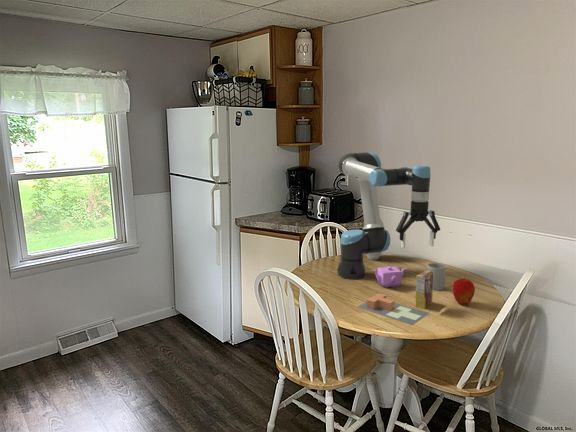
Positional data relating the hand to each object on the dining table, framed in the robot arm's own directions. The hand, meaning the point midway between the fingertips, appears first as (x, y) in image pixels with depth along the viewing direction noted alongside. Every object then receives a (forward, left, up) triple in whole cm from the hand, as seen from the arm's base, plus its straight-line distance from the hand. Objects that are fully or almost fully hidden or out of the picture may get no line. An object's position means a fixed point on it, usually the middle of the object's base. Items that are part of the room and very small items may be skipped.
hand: (417, 246), depth 203 cm
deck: (+2, -24, -23) cm, 33 cm away
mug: (+1, +17, -24) cm, 29 cm away
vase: (-46, +36, -24) cm, 63 cm away
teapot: (-15, +2, -24) cm, 28 cm away
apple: (+20, +5, -24) cm, 32 cm away
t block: (-3, -24, -22) cm, 33 cm away
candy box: (+9, -10, -24) cm, 27 cm away
